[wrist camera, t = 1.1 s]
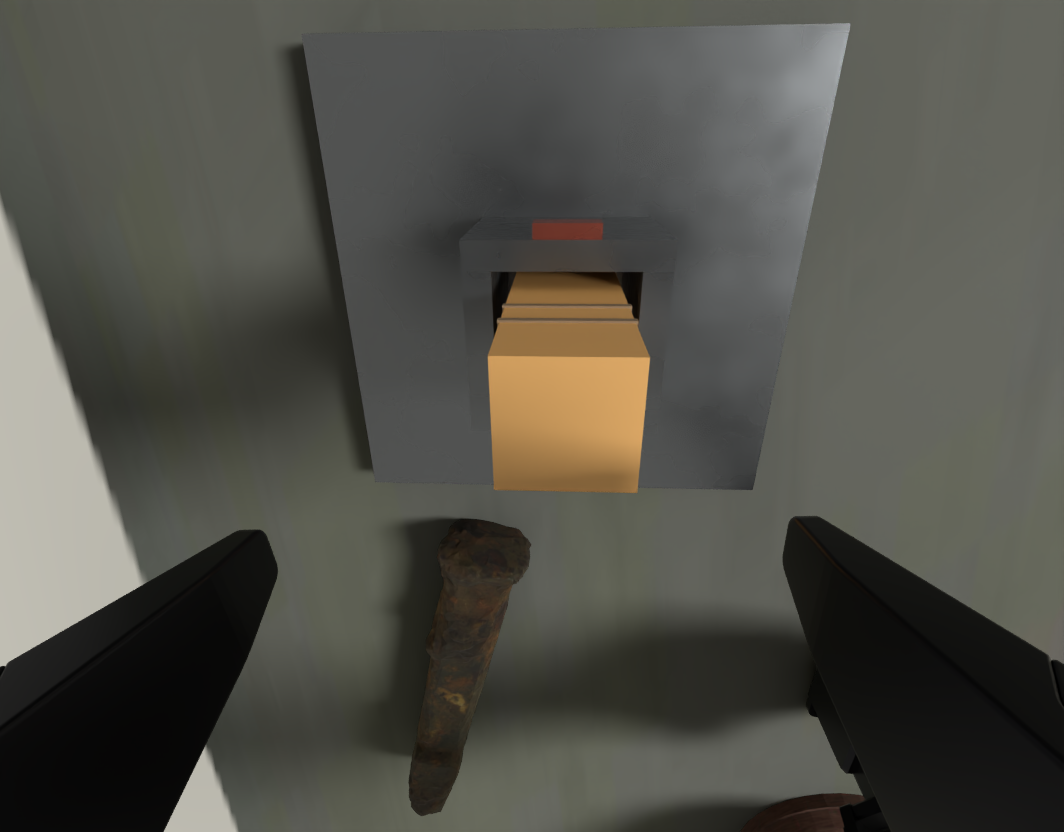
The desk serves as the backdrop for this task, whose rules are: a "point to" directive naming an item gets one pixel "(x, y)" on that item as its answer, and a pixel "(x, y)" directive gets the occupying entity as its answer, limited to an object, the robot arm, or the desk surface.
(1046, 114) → the desk surface
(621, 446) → the column
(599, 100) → the jack stand base
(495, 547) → the rusty railroad spike
